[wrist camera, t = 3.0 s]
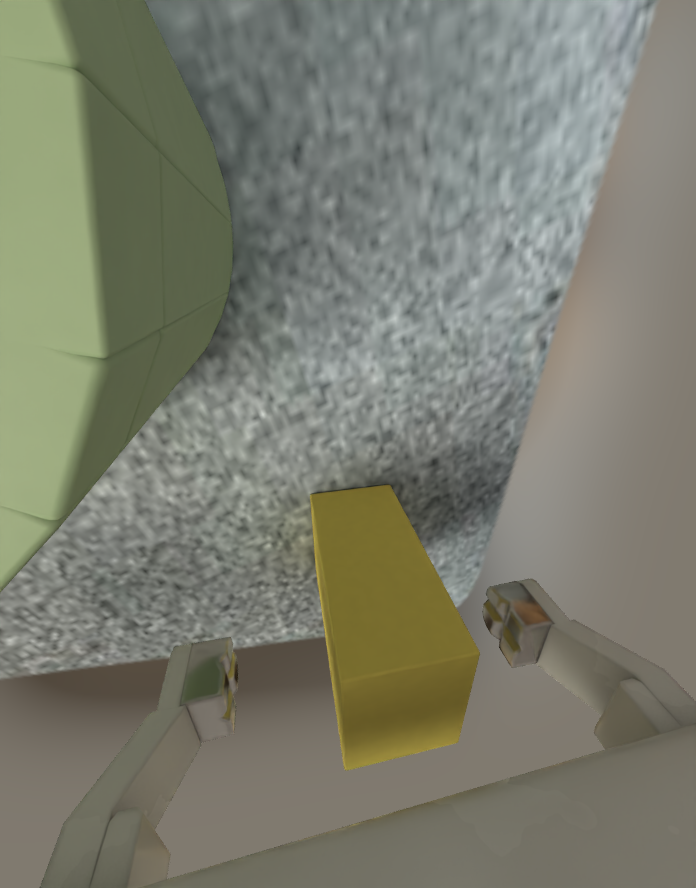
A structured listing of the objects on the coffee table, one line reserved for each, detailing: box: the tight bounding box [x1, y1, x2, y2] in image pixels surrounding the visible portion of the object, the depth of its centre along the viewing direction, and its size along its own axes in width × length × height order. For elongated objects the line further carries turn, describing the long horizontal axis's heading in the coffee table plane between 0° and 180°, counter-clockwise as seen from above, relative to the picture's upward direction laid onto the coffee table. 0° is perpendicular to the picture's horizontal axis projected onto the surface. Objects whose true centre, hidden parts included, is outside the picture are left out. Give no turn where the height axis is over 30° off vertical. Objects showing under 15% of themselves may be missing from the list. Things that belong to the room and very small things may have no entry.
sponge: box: [310, 485, 480, 770], centre depth 12 cm, size 3×4×7 cm
